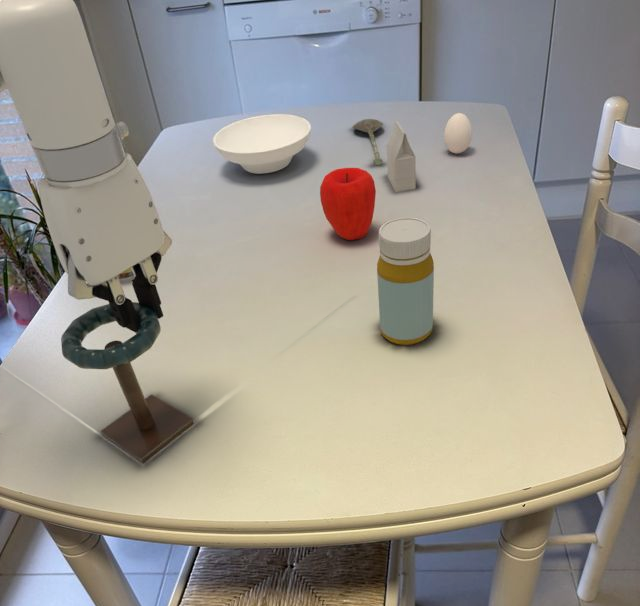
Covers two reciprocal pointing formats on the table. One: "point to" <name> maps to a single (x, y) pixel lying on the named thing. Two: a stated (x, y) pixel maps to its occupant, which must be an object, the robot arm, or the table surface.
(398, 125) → the milk carton
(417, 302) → the bottle
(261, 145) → the bowl
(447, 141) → the egg
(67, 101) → the robot arm
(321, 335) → the table surface
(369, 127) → the soupspoon
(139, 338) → the ring
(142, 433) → the peg stand
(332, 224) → the apple
